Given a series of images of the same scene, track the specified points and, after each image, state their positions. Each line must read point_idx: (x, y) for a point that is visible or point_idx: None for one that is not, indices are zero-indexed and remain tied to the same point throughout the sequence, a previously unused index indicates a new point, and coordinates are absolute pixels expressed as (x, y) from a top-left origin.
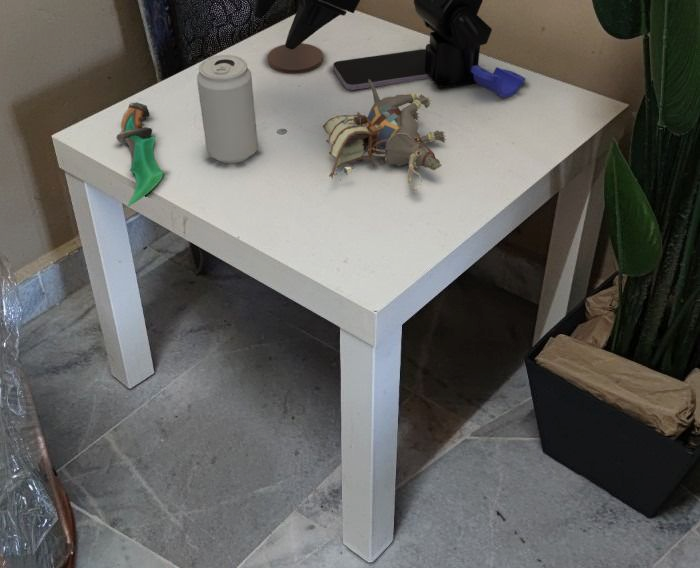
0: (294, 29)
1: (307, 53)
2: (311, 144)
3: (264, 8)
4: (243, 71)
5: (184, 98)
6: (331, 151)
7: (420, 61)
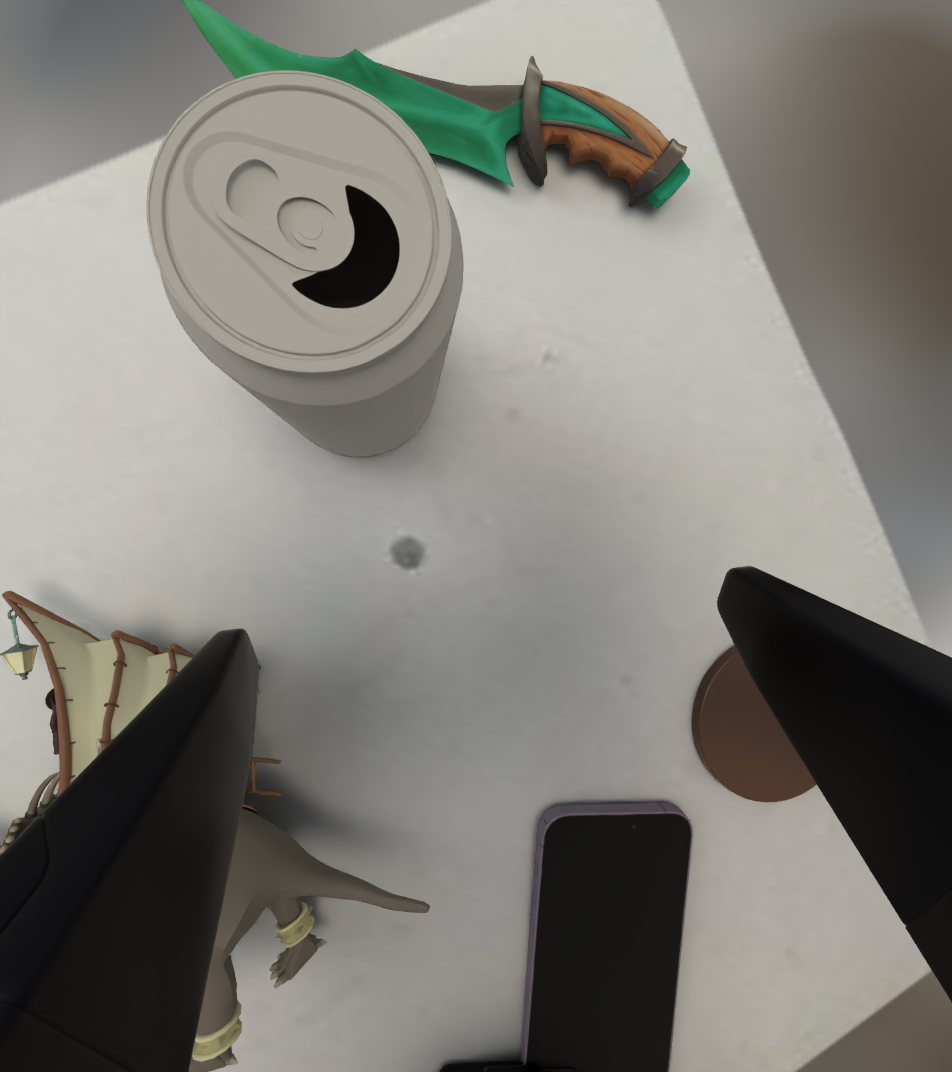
0: (105, 751)
1: (775, 758)
2: (307, 612)
3: (759, 647)
4: (193, 316)
5: (694, 346)
6: (114, 641)
7: (602, 1065)
